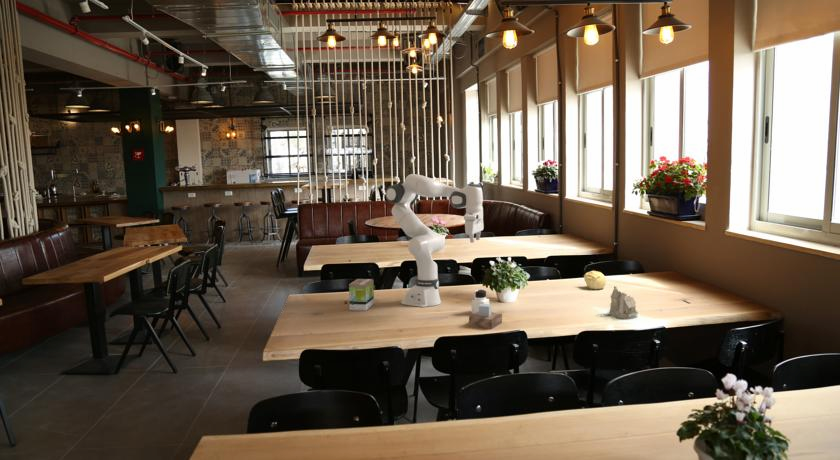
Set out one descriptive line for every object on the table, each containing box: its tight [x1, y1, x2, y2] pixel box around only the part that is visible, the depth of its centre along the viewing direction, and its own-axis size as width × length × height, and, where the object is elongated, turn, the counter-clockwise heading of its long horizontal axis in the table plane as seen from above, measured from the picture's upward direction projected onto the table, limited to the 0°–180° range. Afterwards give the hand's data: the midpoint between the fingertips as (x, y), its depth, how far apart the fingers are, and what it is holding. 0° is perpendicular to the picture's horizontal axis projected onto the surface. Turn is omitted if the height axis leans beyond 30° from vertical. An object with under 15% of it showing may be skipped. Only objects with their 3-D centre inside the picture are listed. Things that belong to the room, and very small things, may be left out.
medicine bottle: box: [470, 289, 490, 315], centre depth 319 cm, size 7×7×12 cm
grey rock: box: [608, 285, 639, 320], centre depth 308 cm, size 16×16×15 cm
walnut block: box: [468, 311, 503, 330], centre depth 298 cm, size 12×12×5 cm
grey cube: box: [479, 303, 492, 317], centre depth 297 cm, size 5×5×5 cm
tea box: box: [348, 278, 375, 312], centre depth 337 cm, size 15×10×15 cm
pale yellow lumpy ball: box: [583, 270, 607, 290], centre depth 367 cm, size 12×12×11 cm
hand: (475, 241), depth 321 cm, fingers open, 8 cm apart
